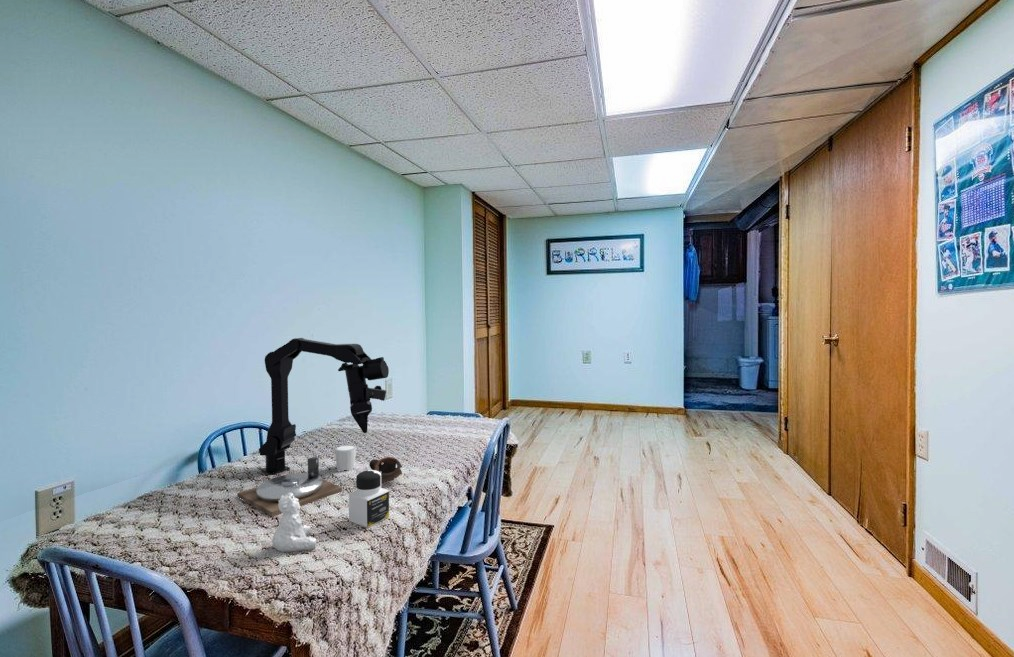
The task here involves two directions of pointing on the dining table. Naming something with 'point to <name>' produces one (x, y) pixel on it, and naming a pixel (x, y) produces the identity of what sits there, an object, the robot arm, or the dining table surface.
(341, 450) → the shot glass
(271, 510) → the walnut board
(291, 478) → the handwheel
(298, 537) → the sitting furry creature
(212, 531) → the dining table surface
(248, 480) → the dining table surface
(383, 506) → the medicine bottle
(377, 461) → the pottery mug
